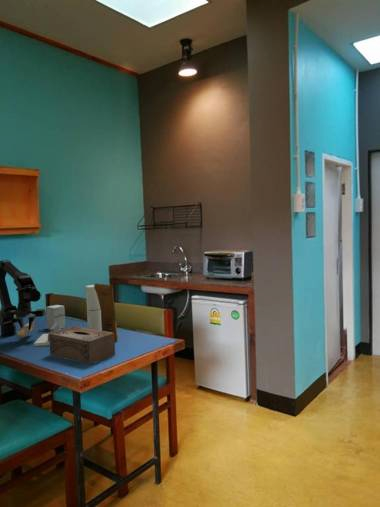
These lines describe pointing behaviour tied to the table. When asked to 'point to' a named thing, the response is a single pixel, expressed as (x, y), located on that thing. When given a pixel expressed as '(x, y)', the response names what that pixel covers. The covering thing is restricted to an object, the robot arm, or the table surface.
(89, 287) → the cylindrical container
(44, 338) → the fulcrum stand
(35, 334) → the table surface
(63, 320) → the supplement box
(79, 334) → the tissue box cover
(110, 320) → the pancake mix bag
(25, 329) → the oak bar
